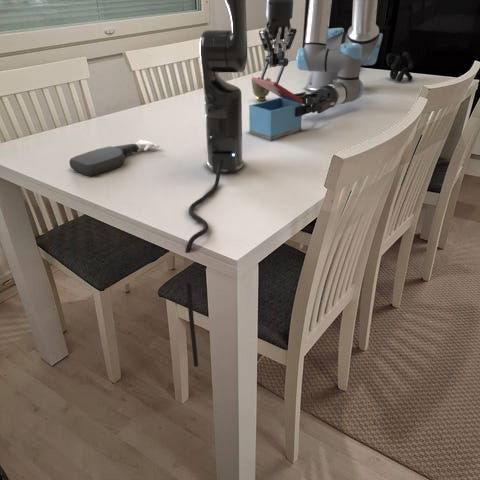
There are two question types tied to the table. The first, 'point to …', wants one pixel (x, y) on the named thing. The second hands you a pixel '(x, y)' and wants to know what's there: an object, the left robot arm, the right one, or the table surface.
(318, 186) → the table surface
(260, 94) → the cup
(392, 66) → the squiggle
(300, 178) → the table surface
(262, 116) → the chest
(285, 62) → the lid
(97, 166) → the wireless presentation dongle
